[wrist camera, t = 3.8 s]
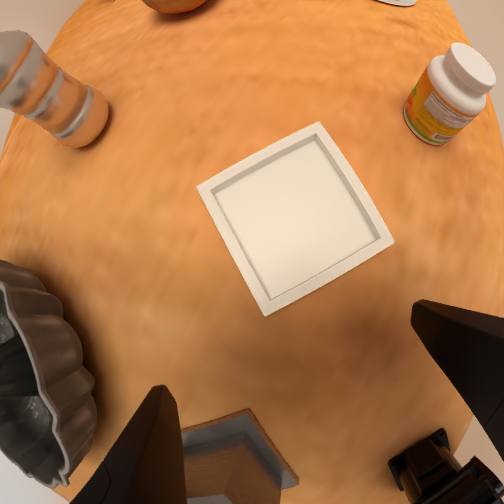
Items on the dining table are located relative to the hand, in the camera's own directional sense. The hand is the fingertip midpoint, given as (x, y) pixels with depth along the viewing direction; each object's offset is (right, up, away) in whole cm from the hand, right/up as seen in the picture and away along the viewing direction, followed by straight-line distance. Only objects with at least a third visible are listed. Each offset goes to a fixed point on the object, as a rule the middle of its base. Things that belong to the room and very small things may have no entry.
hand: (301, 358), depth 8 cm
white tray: (+2, +6, +12) cm, 14 cm away
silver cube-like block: (-3, -16, +12) cm, 20 cm away
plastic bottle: (-19, +17, +16) cm, 30 cm away
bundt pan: (-27, -10, +16) cm, 33 cm away
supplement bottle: (+15, +16, +11) cm, 24 cm away
